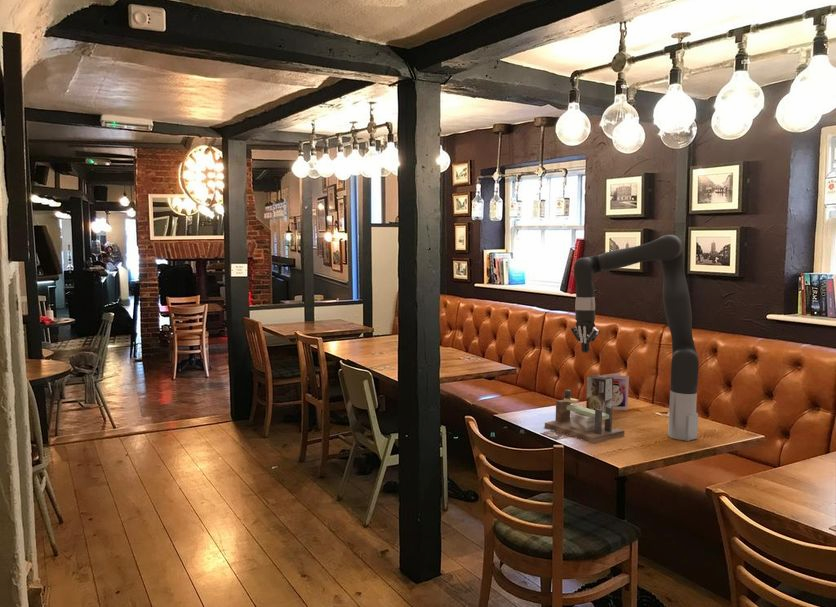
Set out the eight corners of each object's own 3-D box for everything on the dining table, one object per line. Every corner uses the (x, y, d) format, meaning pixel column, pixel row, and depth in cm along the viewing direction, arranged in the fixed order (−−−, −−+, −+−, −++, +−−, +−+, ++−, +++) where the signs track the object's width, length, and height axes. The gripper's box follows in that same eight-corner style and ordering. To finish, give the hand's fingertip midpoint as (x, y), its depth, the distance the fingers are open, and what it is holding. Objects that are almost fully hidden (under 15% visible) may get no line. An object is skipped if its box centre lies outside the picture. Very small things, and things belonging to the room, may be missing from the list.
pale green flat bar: (609, 418, 245) (609, 414, 245) (602, 420, 242) (602, 416, 242) (573, 408, 258) (573, 404, 258) (566, 409, 256) (566, 405, 256)
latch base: (624, 435, 248) (625, 406, 247) (594, 443, 238) (595, 413, 237) (574, 421, 267) (575, 394, 266) (544, 427, 257) (545, 399, 256)
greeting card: (601, 409, 285) (602, 375, 284) (597, 405, 293) (598, 372, 291) (628, 410, 285) (629, 376, 283) (623, 406, 292) (625, 372, 291)
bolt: (578, 402, 255) (578, 392, 255) (574, 403, 254) (574, 392, 253) (567, 399, 260) (567, 389, 259) (562, 400, 258) (563, 390, 258)
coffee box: (612, 415, 276) (614, 377, 275) (604, 418, 272) (606, 379, 270) (593, 411, 283) (595, 374, 281) (585, 413, 279) (586, 376, 277)
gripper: (565, 308, 263) (565, 351, 264) (592, 310, 252) (592, 355, 254) (578, 306, 267) (578, 349, 269) (605, 308, 257) (605, 353, 258)
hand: (585, 352), depth 261 cm, fingers closed
